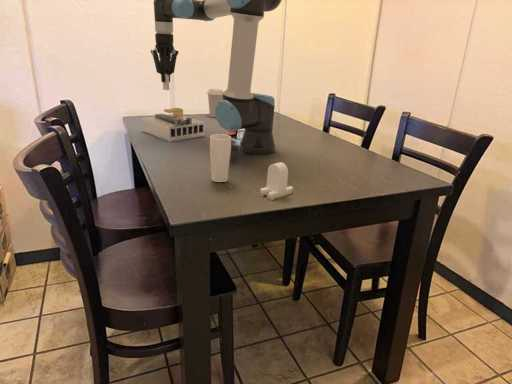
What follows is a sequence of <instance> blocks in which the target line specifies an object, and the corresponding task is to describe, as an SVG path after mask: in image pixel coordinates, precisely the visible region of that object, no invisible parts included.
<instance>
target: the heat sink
mask: <svg viewBox="0 0 512 384" xmlns="http://www.w3.org/2000/svg"><path fill="white" fill-rule="evenodd" d="M168 115H169V116H172V117H176V118H179V119H183V120H188V124H183V125H180V120H179V119H175V122H171V121H168V120H165V119H161V118H158V117H155V115H154V116H147V117H146V116H145V117H141V118H142V132H144V133H146V134H149V135H151V136H154V137H156V138H159V139H161V140H163V141H167V142H169V143H171V142H177V141H183V140H184V141H185V140H188V139H195V138H200V137H204V136H205V121H202V120H199V119H195V118H193V117H188V116H185V115H183V116H175V115H173V113H170V114H168Z"/></svg>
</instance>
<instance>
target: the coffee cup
mask: <svg viewBox="0 0 512 384" xmlns="http://www.w3.org/2000/svg"><path fill="white" fill-rule="evenodd" d="M223 92H224V90H223V89H219V88H209V89H208V90H207V93H206V94H207V97H208V98H207V99H208V110H209V111H208V112H209V113H208V115H209V117H210V118H213V117H216V115H215V107H216V105H217V104H218V102H219V101H221V100H222V99H223Z"/></svg>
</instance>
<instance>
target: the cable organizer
mask: <svg viewBox="0 0 512 384" xmlns="http://www.w3.org/2000/svg"><path fill="white" fill-rule="evenodd" d="M288 179H289V170H288V166H287V164H286V163H284V162H281V161H280V162H276V163H272V164H270V165H269V166H268V168H267V177H266V186H265V187H261V188H260V192H261V193H266V192H269V193H268V195H267V197H268V196H270V197H273V196H276V195H279V194H283V193H285V192H288V191H291V190H293V191H294V187H293V186H291V185H289V186H288V181H289V180H288ZM260 192H259V193H260Z"/></svg>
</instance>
